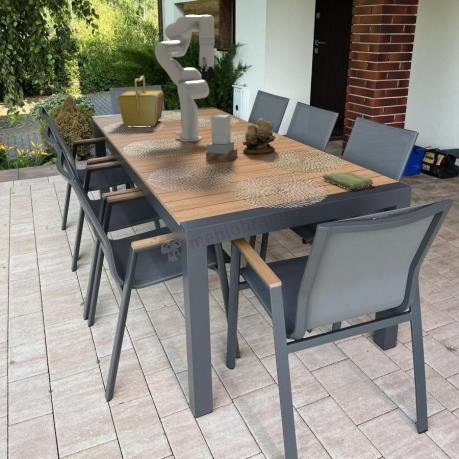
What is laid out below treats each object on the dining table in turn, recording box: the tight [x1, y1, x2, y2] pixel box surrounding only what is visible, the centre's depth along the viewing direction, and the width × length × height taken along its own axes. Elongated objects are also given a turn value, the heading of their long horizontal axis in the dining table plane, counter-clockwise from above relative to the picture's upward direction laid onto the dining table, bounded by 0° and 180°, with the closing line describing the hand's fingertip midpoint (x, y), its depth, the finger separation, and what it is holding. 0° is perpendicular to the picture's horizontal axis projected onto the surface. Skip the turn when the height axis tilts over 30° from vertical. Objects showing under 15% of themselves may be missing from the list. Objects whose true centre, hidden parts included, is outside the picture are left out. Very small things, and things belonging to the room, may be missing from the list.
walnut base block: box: [205, 147, 238, 163], centre depth 229 cm, size 12×12×4 cm
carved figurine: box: [242, 117, 276, 156], centre depth 237 cm, size 18×12×17 cm, turn 117°
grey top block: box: [206, 140, 235, 154], centre depth 227 cm, size 10×10×4 cm
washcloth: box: [322, 171, 374, 190], centre depth 190 cm, size 13×18×3 cm
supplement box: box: [210, 114, 232, 144], centre depth 224 cm, size 7×7×13 cm
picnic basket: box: [116, 75, 165, 127], centre depth 310 cm, size 29×26×30 cm
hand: (208, 78), depth 240 cm, fingers open, 9 cm apart
